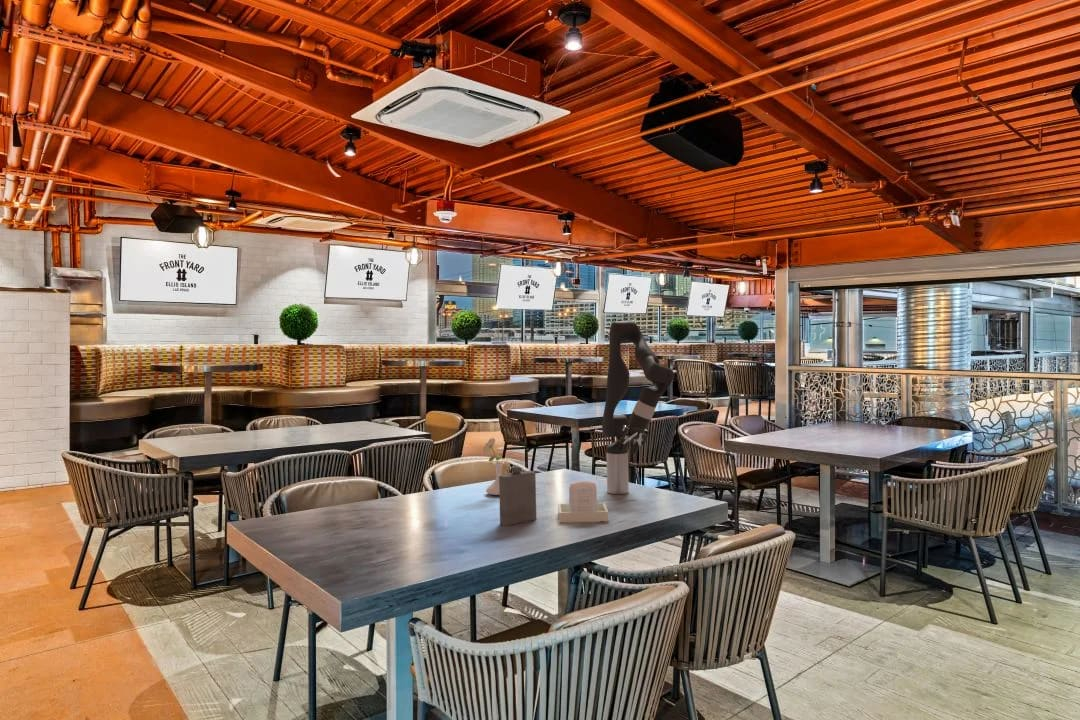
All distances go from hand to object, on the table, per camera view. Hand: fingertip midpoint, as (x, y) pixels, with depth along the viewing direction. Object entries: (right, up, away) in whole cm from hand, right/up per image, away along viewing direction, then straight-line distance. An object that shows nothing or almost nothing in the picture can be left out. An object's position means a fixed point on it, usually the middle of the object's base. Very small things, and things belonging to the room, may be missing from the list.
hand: (625, 452), depth 250 cm
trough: (-17, -23, -7) cm, 29 cm away
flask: (-41, -24, -11) cm, 49 cm away
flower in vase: (-51, -23, +34) cm, 66 cm away
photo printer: (-17, -22, -7) cm, 28 cm away
